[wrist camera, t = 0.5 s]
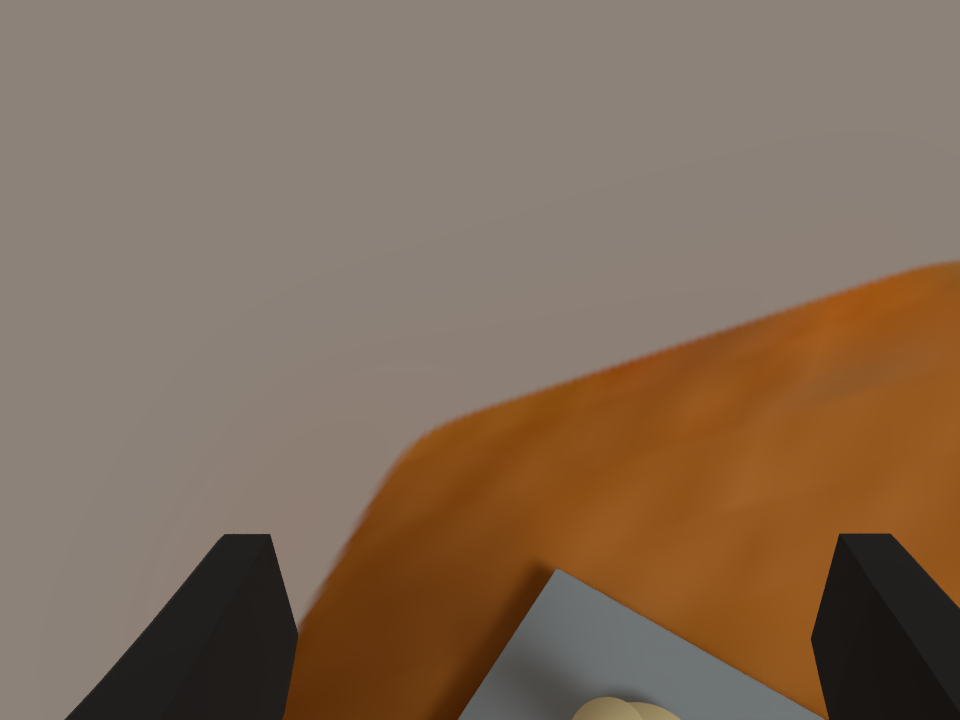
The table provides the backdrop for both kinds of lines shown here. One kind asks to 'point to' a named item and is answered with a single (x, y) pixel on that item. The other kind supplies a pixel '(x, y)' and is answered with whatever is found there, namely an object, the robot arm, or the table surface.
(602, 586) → the table surface
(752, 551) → the table surface
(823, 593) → the robot arm
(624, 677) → the board
